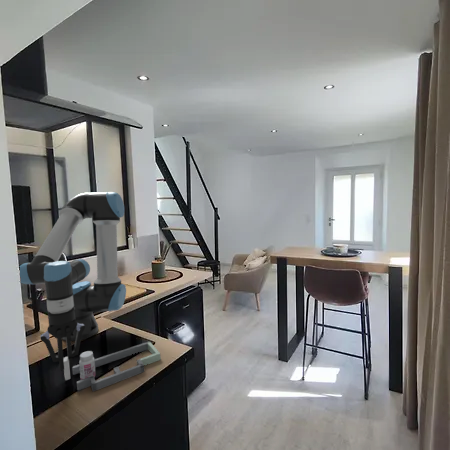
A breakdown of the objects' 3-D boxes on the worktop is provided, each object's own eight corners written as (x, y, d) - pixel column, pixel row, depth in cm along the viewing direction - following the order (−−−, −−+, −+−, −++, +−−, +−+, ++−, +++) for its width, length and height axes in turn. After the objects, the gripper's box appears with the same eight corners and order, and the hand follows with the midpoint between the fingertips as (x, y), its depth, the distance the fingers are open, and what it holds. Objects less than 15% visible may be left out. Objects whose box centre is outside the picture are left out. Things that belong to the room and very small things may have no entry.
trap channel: (72, 373, 100) (72, 366, 100) (149, 347, 116) (149, 341, 116) (79, 396, 88) (78, 389, 88) (164, 363, 104) (164, 357, 104)
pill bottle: (85, 383, 94) (83, 359, 94) (77, 378, 97) (75, 355, 96) (98, 375, 98) (96, 352, 98) (90, 371, 101) (88, 348, 100)
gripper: (37, 318, 85) (45, 391, 87) (85, 307, 92) (90, 375, 95) (36, 310, 91) (43, 379, 93) (81, 301, 98) (86, 365, 101)
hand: (67, 377), depth 94 cm, fingers closed
